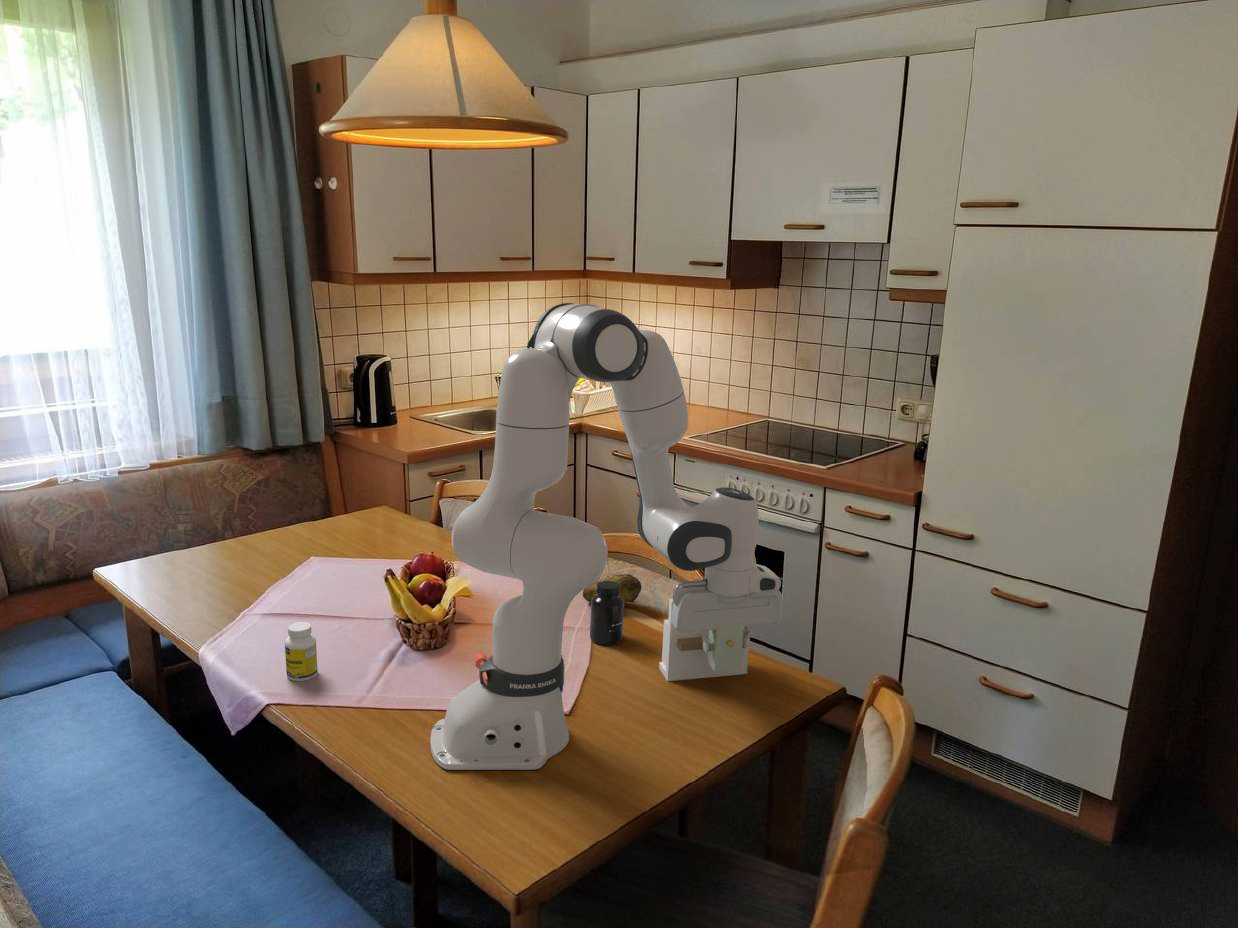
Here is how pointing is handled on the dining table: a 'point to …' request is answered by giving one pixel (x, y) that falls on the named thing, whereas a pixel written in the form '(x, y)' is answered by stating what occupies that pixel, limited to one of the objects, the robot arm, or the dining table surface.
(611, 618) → the supplement bottle
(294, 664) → the supplement bottle
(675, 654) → the wall board
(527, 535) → the robot arm
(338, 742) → the dining table surface
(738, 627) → the pale green box
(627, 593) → the potato
